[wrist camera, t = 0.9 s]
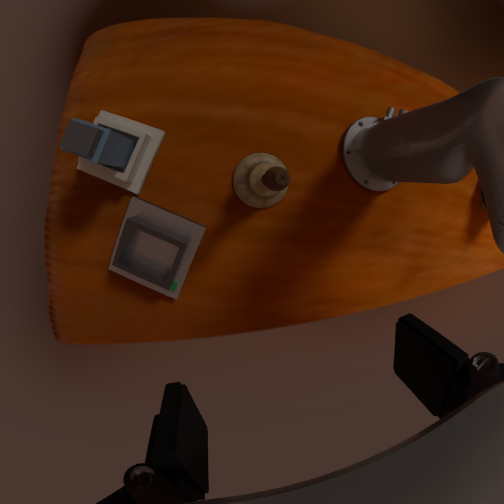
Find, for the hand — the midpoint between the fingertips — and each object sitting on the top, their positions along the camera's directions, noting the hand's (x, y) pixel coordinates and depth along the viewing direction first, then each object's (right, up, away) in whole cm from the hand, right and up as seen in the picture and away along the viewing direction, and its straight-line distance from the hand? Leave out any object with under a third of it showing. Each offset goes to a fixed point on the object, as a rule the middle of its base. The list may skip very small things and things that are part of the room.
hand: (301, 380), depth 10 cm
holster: (-22, +21, +26) cm, 40 cm away
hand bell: (-1, +16, +30) cm, 33 cm away
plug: (-22, +21, +25) cm, 39 cm away
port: (-17, +6, +30) cm, 35 cm away
